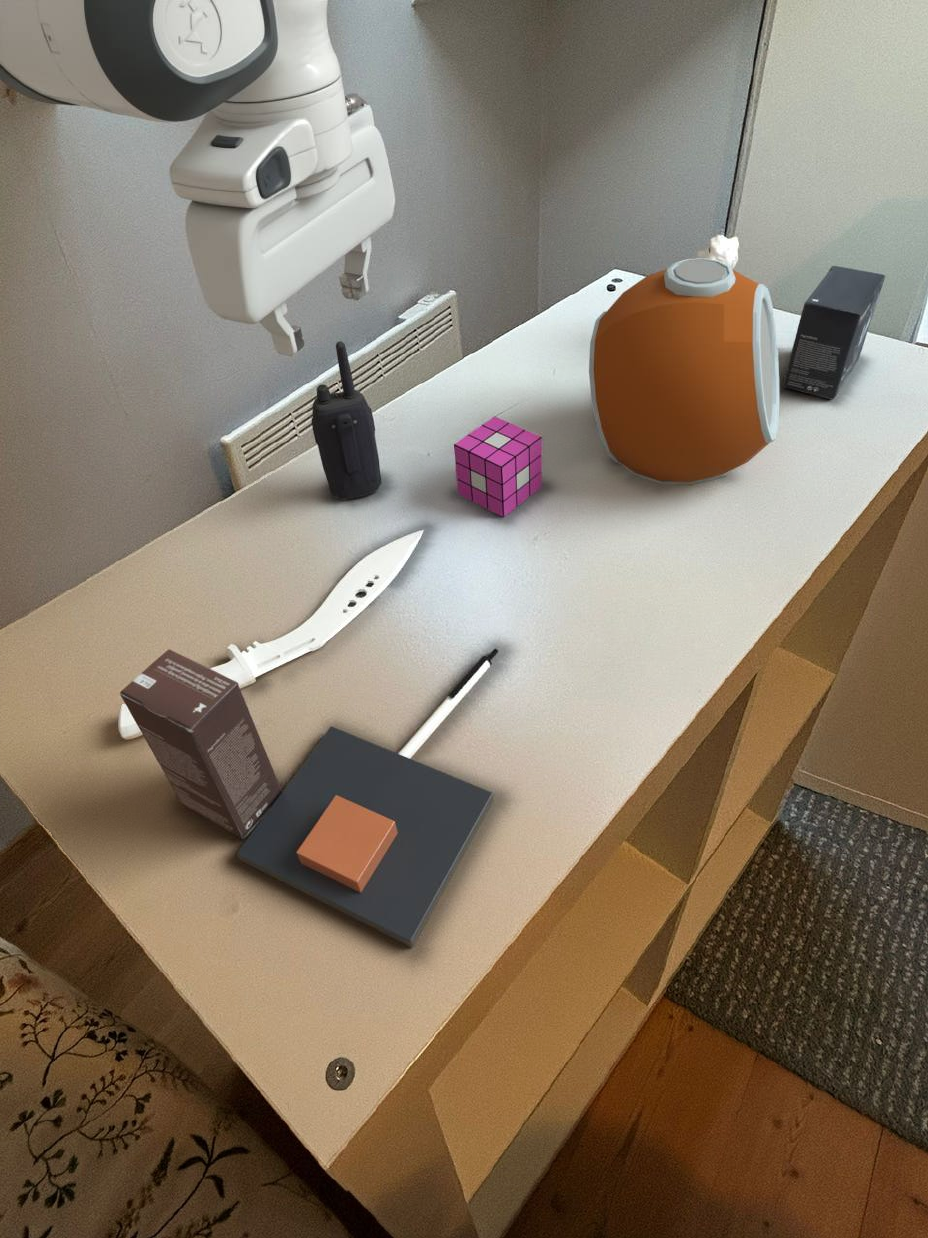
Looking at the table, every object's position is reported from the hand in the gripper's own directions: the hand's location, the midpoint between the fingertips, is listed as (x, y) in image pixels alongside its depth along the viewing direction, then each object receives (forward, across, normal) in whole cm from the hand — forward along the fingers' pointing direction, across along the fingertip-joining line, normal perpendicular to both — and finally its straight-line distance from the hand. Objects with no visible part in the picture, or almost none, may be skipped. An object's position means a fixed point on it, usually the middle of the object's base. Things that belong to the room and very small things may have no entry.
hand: (325, 322), depth 66 cm
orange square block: (+16, +32, +20) cm, 41 cm away
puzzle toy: (+18, -5, +12) cm, 22 cm away
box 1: (+17, +32, +10) cm, 38 cm away
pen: (+18, +22, +19) cm, 34 cm away
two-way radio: (+18, 0, 0) cm, 18 cm away
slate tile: (+17, +30, +20) cm, 40 cm away
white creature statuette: (+18, -38, +21) cm, 47 cm away
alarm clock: (+18, -18, +25) cm, 36 cm away
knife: (+17, +17, +4) cm, 25 cm away
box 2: (+18, -36, +35) cm, 54 cm away
